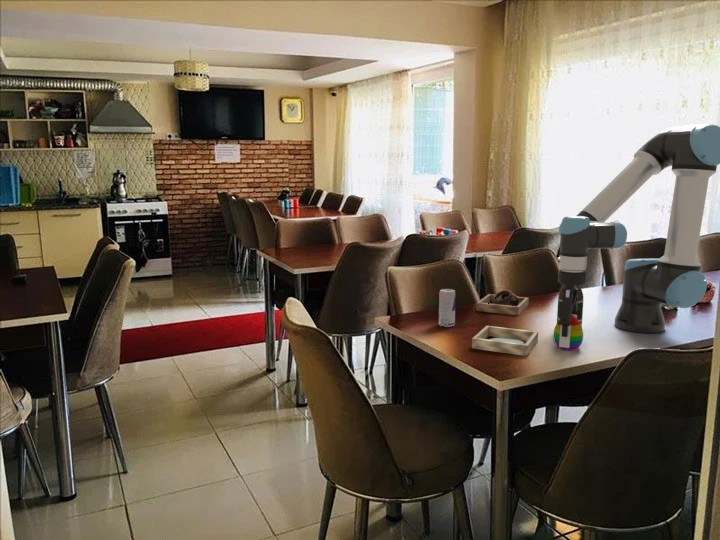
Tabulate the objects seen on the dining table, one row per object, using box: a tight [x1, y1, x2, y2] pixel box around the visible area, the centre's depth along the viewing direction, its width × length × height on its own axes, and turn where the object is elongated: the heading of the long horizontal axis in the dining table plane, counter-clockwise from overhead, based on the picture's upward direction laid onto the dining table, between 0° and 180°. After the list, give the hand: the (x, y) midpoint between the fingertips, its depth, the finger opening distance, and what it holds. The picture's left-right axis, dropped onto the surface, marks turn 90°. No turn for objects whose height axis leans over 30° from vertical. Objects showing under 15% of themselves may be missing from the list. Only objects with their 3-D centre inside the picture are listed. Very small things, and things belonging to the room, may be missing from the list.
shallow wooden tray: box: [471, 325, 539, 357], centre depth 177 cm, size 16×16×3 cm
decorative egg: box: [553, 315, 584, 351], centre depth 174 cm, size 8×8×10 cm
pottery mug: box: [493, 289, 520, 306], centre depth 223 cm, size 12×10×8 cm
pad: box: [488, 337, 525, 344], centre depth 178 cm, size 11×11×1 cm
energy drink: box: [438, 288, 456, 328], centre depth 199 cm, size 5×5×12 cm
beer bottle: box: [556, 284, 584, 327], centre depth 189 cm, size 8×8×24 cm
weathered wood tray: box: [475, 293, 530, 316], centre depth 224 cm, size 16×18×3 cm
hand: (567, 341), depth 175 cm, fingers open, 13 cm apart
